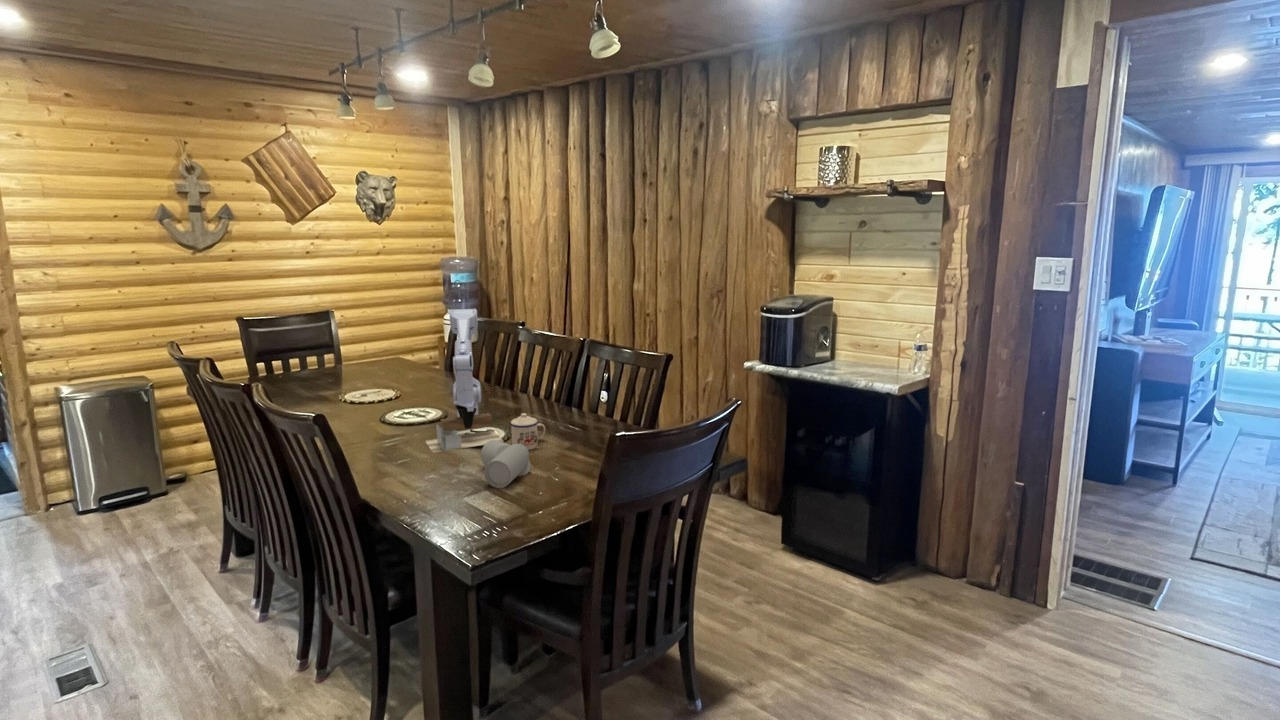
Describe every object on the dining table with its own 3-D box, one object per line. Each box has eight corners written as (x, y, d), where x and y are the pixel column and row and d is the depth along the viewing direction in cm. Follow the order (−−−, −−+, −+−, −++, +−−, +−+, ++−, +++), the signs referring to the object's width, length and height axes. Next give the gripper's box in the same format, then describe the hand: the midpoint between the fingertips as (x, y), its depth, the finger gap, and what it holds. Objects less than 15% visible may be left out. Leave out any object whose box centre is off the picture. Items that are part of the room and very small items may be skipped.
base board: (425, 443, 241) (424, 440, 240) (493, 433, 251) (493, 430, 251) (433, 455, 228) (432, 452, 228) (504, 444, 239) (504, 441, 239)
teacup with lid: (517, 452, 231) (515, 419, 228) (507, 445, 238) (506, 412, 236) (550, 446, 236) (549, 413, 234) (540, 439, 244) (539, 407, 242)
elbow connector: (549, 471, 211) (508, 456, 224) (542, 440, 207) (501, 427, 220) (504, 500, 199) (463, 483, 212) (496, 468, 195) (455, 453, 208)
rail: (441, 430, 241) (440, 419, 240) (489, 423, 249) (489, 412, 248) (443, 433, 238) (442, 422, 237) (492, 426, 246) (491, 415, 245)
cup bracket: (437, 444, 236) (436, 424, 235) (456, 441, 239) (455, 421, 238) (442, 451, 229) (441, 430, 228) (461, 448, 232) (460, 428, 231)
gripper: (448, 385, 245) (450, 422, 248) (457, 394, 232) (460, 433, 235) (468, 383, 248) (470, 419, 251) (478, 392, 235) (480, 430, 238)
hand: (466, 426), depth 243 cm, fingers closed on rail, 3 cm apart
